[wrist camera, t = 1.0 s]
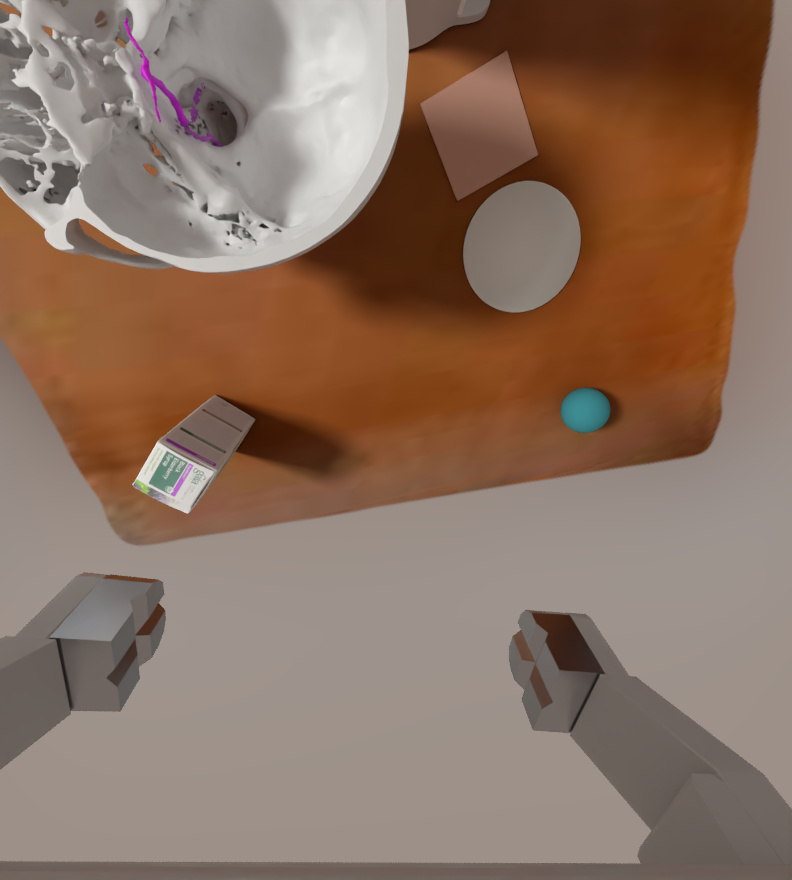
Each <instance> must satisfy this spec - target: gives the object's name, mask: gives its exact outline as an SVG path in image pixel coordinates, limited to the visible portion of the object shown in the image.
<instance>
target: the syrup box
mask: <svg viewBox="0 0 792 880" xmlns="http://www.w3.org/2000/svg"><path fill="white" fill-rule="evenodd" d="M254 422H255V419H254V418H253V417H251V416H250V415H248V414H247V413H245V412H243V411H242V410H240V409H238V408H237V407H235V406H233V405H232V404H230V403H228V402H227V401H225V400H223V399H222V398H220V397H218V396H216V395H214V396H213V397H212V398H210V399H209V400H208V401H206V402H205V403H204V404H203V405H201V406H200V407H199V408H197V409H196V410H195V411H194V412H193V413H191V414H190V415H189V416H188V417H186V418H185V419H184V420H183V421H182V422H180V423H179V424H178V425H177V426H176V427H174V428H173V429H172V430H171V431H170V432H168V433H167V434H166V435H165V436H163V437H162V438H161V439H159V440H158V441H157V443H156V445H155V447H154V449H153V450H152V452H151V454H150V456H149V457H148V459H147V461H146V463H145V464H144V466H143V468H142V470H141V471H140V473H139V475H138V477H137V478H136V480H135V482H134V483H133V487H135V488H136V489H138V490H140V491H142V492H143V493H145V494H147V495H149V496H151V497H152V498H154V499H156V500H158V501H160V502H162V503H165V504H167V505H169V506H171V507H173V508H176V509H178V510H181V511H183V512H185V513H187V514H188V513H190V512H191V510H192V509H193V508H194V506H195V505H196V504H197V503H198V501H199V500H200V499H201V497H202V496H203V495H204V493H205V492H206V491H207V489H208V488H209V487H210V485H211V484H212V482H213V481H214V480H215V478H216V477H217V476H218V474H219V473H220V472H221V470H222V469H223V468H224V466H225V465H226V463H227V462H228V461H229V459H230V458H231V457H232V455H233V454H234V453H235V451H236V450H237V448H238V447H239V445H240V444H241V442H242V441H243V439H244V437H245V436H246V434H247V433H248V431H249V430H250V428H251V426H252V425H253V423H254Z"/></svg>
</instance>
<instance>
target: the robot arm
mask: <svg viewBox="0 0 792 880" xmlns="http://www.w3.org/2000/svg"><path fill="white" fill-rule="evenodd" d="M490 1H491V0H405V4H406V16H407V28H408V40H409V50H410V49H413V48H416V47H419V46H421V45H423V44H425V43H427V42H429V41H430V40H432V39H433V38H435V37H436V36H437V35H439V34H440V33H441V32H443V31H444V30H446V29H447V28H449V27H451V26H453V25H462V24H468V23H473V22H476V21H478V20H480V19H482V18H483V17H484V16H485V14H486V13H487V11H488V8H489V4H490ZM163 595H164V588H163V582H162V581H160V580H155V579H147V578H137V577H128V576H119V575H104V574H94V573H82V574H80V575H78V576H76V577H75V578H74V579H73V580H72V581H71V582H69V583H68V584H67V586H66V587H65V588H63V589H62V590H61V591H60V592H59V593H58V594H57V595H56V596H55V597H54V598H53V599H52V600H51V601H50V602H49V603H48V604H47V605H46V606H45V607H44V608H43V609H42V610H41V611H40V612H39V613H38V614H37V615H36V616H35V617H34V618H33V619H32V620H31V621H30V622H29V623H28V624H27V625H26V626H25V627H24V628H23V629H22V630H21V631H20V632H19V633H18V634H17V635H16V636H15V637H11V636H5V637H3V638H1V639H0V769H2V768H3V767H4V766H5V765H7V764H8V763H9V762H10V761H12V760H13V759H14V758H15V757H17V756H18V755H19V754H20V753H22V752H23V751H24V750H25V749H27V748H28V747H29V746H31V745H32V744H33V743H34V742H36V741H37V740H38V739H40V738H41V737H42V736H43V735H45V734H46V733H47V732H48V731H50V730H51V729H52V728H53V727H55V726H56V725H57V724H58V723H60V722H61V721H62V720H64V719H65V718H66V717H67V716H69V715H70V714H71V711H119V712H120V711H121V710H122V708H123V706H124V704H125V703H126V701H127V699H128V698H129V696H130V694H131V693H132V691H133V689H134V687H135V686H136V684H137V682H138V681H139V679H140V675H139V666H141V665H142V664H143V663H145V662H146V661H148V660H150V659H151V658H152V657H153V655H154V653H155V651H156V649H157V648H158V646H159V643H160V640H161V638H162V635H163V632H164V627H165V620H166V616H165V610H164V608H163V607H162V606H161V605H160V604H159V601H160V599H161V598H162V597H163ZM518 624H519V626H520V628H521V630H520V631H519V632H518V633H517V634H515V635H514V636H513V637H512V640H511V643H510V646H509V662H510V667H511V671H512V674H513V677H514V680H515V681H516V682H517V683H518V684H519V685H520V686H521V687H522V688H523V689H524V693H523V697H522V702H523V705H524V707H525V710H526V713H527V715H528V718H529V721H530V724H531V726H532V729H533V730H537V731H550V732H562V733H571V734H570V736H571V737H572V738H573V739H574V740H575V742H576V743H577V744H578V745H579V746H580V748H581V749H582V750H583V751H584V752H585V753H586V755H587V756H588V757H589V758H590V759H591V760H592V762H593V763H594V764H595V765H596V766H597V767H598V768H599V770H600V771H601V772H602V773H603V774H604V776H605V777H606V778H607V779H608V780H609V782H610V783H611V784H612V785H613V786H614V787H615V789H617V791H618V792H619V793H620V794H621V796H622V797H623V798H624V799H625V800H626V801H627V802H628V804H629V805H630V806H631V807H632V808H633V809H634V811H635V812H636V813H637V814H638V815H639V817H641V819H642V820H643V821H644V822H645V823H646V825H647V826H648V827H649V828H650V829H651V833H650V834H649V835H648V837H647V838H646V839H645V841H644V842H643V844H642V845H641V847H640V849H639V852H638V858H639V860H640V863H641V864H595V863H579V864H578V863H573V864H572V863H341V862H340V863H339V862H336V863H334V862H331V863H330V862H323V863H322V862H313V863H312V862H23V861H21V862H20V861H18V862H16V861H14V862H13V861H7V862H6V861H0V880H792V809H791V808H790V807H789V806H788V804H787V803H786V802H785V800H784V799H783V798H782V797H781V795H780V794H779V793H778V792H777V790H776V789H775V788H774V787H773V785H772V784H771V783H770V782H769V780H768V779H767V778H766V777H765V775H764V774H763V773H761V772H760V771H759V770H757V769H756V768H755V767H753V766H752V765H751V764H750V763H748V762H747V761H746V760H744V759H743V758H742V757H740V756H739V755H738V754H736V753H735V752H734V751H733V750H731V749H730V748H729V747H727V746H726V745H725V744H723V743H722V742H720V741H719V740H718V739H717V738H715V737H714V736H713V735H711V734H710V733H709V732H707V731H706V730H705V729H704V728H702V727H701V726H700V725H698V724H697V723H696V722H695V721H693V720H692V719H691V718H689V717H688V716H687V715H685V714H684V713H683V712H681V711H680V710H679V709H677V708H676V707H675V706H673V705H672V704H671V703H670V702H668V701H667V700H666V699H664V698H663V697H662V696H660V695H659V694H658V693H656V692H655V691H654V690H652V689H651V688H650V687H649V686H647V685H646V684H645V683H643V682H642V681H641V680H639V679H638V678H637V677H633V676H629V675H628V673H627V672H626V670H625V669H624V668H623V666H622V664H621V663H620V661H619V660H618V658H617V657H616V655H615V654H614V652H613V651H612V649H611V648H610V646H609V645H608V643H607V642H606V640H605V639H604V637H603V636H602V634H601V633H600V631H599V630H598V628H597V627H596V625H595V624H594V622H593V621H592V619H591V618H590V617H588V616H587V615H586V614H576V613H560V612H546V611H532V610H525V611H524V612H523V613H522V614H521V615H520V618H519V621H518Z"/></svg>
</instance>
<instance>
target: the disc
mask: <svg viewBox="0 0 792 880" xmlns="http://www.w3.org/2000/svg"><path fill="white" fill-rule="evenodd" d="M580 244H581V234H580V226H579V221H578V218H577V215H576V212H575V210H574V208H573V206H572V205H571V203H570V202H569V200H568V199H567V198H566V197H565V196H564V195H563V194H562V193H561V192H560V191H559V190H557V189H556V188H554V187H552V186H550V185H548V184H545V183H542V182H538V181H521V182H516V183H512V184H509V185H507V186H505V187H503V188H501V189H499V190H498V191H496V192H495V193H493V194H492V195H491V196H490V197H489V198H487V199H486V200H485V202H484V203H483V204H482V205H481V206H480V207H479V209H478V210H477V211H476V213H475V215H474V216H473V218H472V220H471V222H470V224H469V227H468V229H467V233H466V236H465V241H464V247H463V262H464V268H465V273H466V276H467V279H468V281H469V283H470V285H471V287H472V289H473V290H474V292H475V293H476V294H477V295H478V297H479V298H480V299H481V300H483V301H484V302H485V303H486V304H488V305H490V306H491V307H493V308H495V309H498V310H501V311H505V312H525V311H529V310H533V309H535V308H537V307H540V306H542V305H543V304H545V303H547V302H548V301H550V300H551V299H552V298H554V297H555V296H556V295H557V294H558V293H559V292H560V291H561V290H562V288H563V287H564V286H565V285H566V283H567V282H568V280H569V279H570V277H571V275H572V273H573V271H574V269H575V266H576V264H577V260H578V257H579V252H580Z"/></svg>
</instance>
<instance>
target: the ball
mask: <svg viewBox="0 0 792 880" xmlns="http://www.w3.org/2000/svg"><path fill="white" fill-rule="evenodd" d="M609 416H610V403H609V401H608V399H607V398H606V396H605V395H604V394H603V393H601V392H600V391H598V390H596V389H592V388H580V389H577V390H574V391H573V392H571V393H570V394H568V395H567V396H566V397H565V399H564V400H563V402H562V405H561V417H562V420H563V422H564V423H565V424H566V426H568V427H569V428H570V429H572V430H574V431H576V432H580V433H589V432H593V431H596V430H598V429H600V428H601V427H602V426H603V425H604V424H605V423H606V422H607V420H608V418H609Z"/></svg>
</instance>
